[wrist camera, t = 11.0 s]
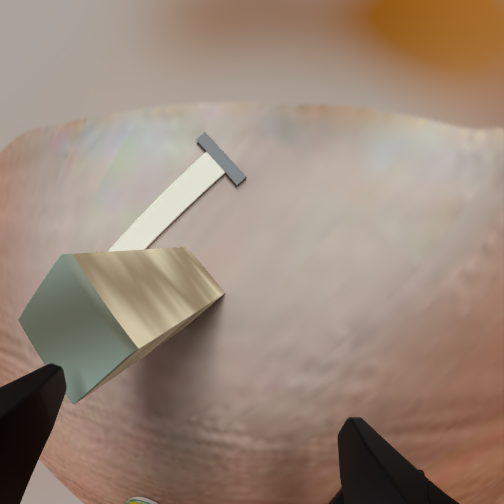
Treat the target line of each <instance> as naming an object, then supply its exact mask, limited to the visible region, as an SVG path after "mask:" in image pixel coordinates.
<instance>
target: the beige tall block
mask: <svg viewBox="0 0 504 504" xmlns="http://www.w3.org/2000/svg"><path fill="white" fill-rule="evenodd" d="M224 294H225V292H224V291H223V290H222V289H221V287H220V286H219V285H218V284H217V283H216V281H215V280H214V279H213V278H212V277H211V275H210V274H209V273H208V272H207V271H206V269H205V268H204V267H203V266H202V265H201V263H200V262H199V261H198V260H197V258H196V257H195V256H194V255H193V254H192V252H191V251H190V250H189V249H188V247H179V248H162V249H145V250H128V251H112V252H96V253H81V254H65V255H61V256H60V257H59V259H58V260H57V262H56V263H55V264H54V266H53V267H52V269H51V270H50V272H49V273H48V274H47V276H46V277H45V279H44V280H43V282H42V283H41V285H40V286H39V288H38V289H37V291H36V292H35V294H34V295H33V297H32V299H31V300H30V302H29V303H28V305H27V307H26V308H25V310H24V311H23V313H22V315H21V316H20V318H19V322H20V324H21V326H22V327H23V329H24V331H25V333H26V334H27V336H28V338H29V339H30V341H31V343H32V345H33V346H34V348H35V349H36V351H37V353H38V354H39V356H40V357H41V359H42V361H43V362H44V364H45V365H48V364H50V363H53V364H56V365H59V366H61V367H62V368H63V370H64V375H65V380H66V385H67V388H66V393H65V394H66V395H67V396H68V398H69V399H70V400H71V402H72V403H73V404H75V403H77V402H78V401H80V400H81V399H83V398H84V397H86V396H87V395H89V394H90V393H92V392H93V391H95V390H96V389H98V388H99V387H100V386H102V385H103V384H105V383H106V382H108V381H109V380H111V379H112V378H114V377H115V376H117V375H118V374H119V373H121V372H122V371H124V370H125V369H127V368H128V367H130V366H131V365H132V364H134V363H135V362H137V361H138V360H140V359H141V358H143V357H144V356H145V355H147V354H148V353H150V352H151V351H153V350H154V349H155V348H157V347H158V346H160V345H161V344H163V343H164V342H165V341H167V340H168V339H170V338H171V337H172V336H174V335H175V334H177V333H178V332H180V331H181V330H182V329H184V328H185V327H186V326H187V325H189V324H190V323H191V322H192V321H193V320H194V319H196V318H197V317H198V316H199V315H200V314H202V313H203V312H204V311H205V310H206V309H207V308H209V307H210V306H211V305H212V304H213V303H214V302H216V301H217V300H218V299H219V298H220V297H221V296H223V295H224Z"/></svg>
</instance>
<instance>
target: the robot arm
mask: <svg viewBox="0 0 504 504" xmlns="http://www.w3.org/2000/svg"><path fill="white" fill-rule="evenodd" d="M66 388H67V385H66V380H65V375H64V370H63V368H62V367H61V366H59V365H56V364H53V363H50V364H48V365H45V366H43V367H41V368H39V369H37V370H35V371H33V372H31V373H29V374H27V375H25V376H23V377H21V378H19V379H17V380H15V381H13V382H10V383H8V384H6V385H4V386H2V387H0V504H20V502H21V500H22V497H23V495H24V492H25V490H26V487H27V485H28V482H29V480H30V477H31V475H32V473H33V471H34V468H35V466H36V464H37V461H38V459H39V457H40V455H41V452H42V450H43V448H44V446H45V444H46V442H47V440H48V437H49V435H50V433H51V431H52V429H53V426H54V423H55V421H56V418H57V415H58V412H59V409H60V406H61V404H62V401H63V398H64V395H65V393H66ZM338 451H339V467H340V479H341V485H342V489H341V491H340V492H339V493H338V494H337V496H336V497H335V498H334V499H333V500H332V502H331V503H330V504H459V503H458V502H456V501H455V500H454V499H452V498H451V497H449V496H448V495H447V494H445V493H444V492H443V491H442V490H441V489H439V488H438V487H437V486H436V485H435V484H433V483H432V482H431V481H429V479H428V478H426V477H425V474H424V472H423V471H422V470H417V469H416V468H415V467H414V466H413V465H412V464H411V463H410V462H409V461H407V460H406V459H405V458H404V457H403V456H402V455H401V454H400V453H399V452H398V451H396V450H395V449H394V448H393V447H392V446H391V445H390V444H389V443H388V442H387V441H386V440H385V439H383V438H382V437H381V436H380V435H379V434H378V433H377V432H376V431H375V430H374V429H373V428H372V427H371V426H370V425H369V424H367V423H366V422H365V421H364V420H363V419H362V418H360V417H349V418H348V419H347V420H346V422H345V423H344V425H343V427H342V428H341V430H340V432H339V434H338Z"/></svg>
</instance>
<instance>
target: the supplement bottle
mask: <svg viewBox="0 0 504 504" xmlns="http://www.w3.org/2000/svg"><path fill="white" fill-rule="evenodd" d="M126 504H158V503H156V502H154V501H152V500H150V499H147V498H144V497H133V498H131V499H129V500H128V501H127V502H126Z"/></svg>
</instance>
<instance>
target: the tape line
mask: <svg viewBox="0 0 504 504" xmlns="http://www.w3.org/2000/svg"><path fill="white" fill-rule="evenodd" d="M197 141H198V142H199V144H200V145H201V146H202V147H203V148H204V149H205V150H206V151H207V152H206V153H204V154H203V155H202V156H201V157H200V158H199V159H198V160H197V161H196V162H195V163H194V164H192V165H191V166H190V167H189V168H188V169H187V170H186V171H185V172H184V173H183V174H182V175H181V176H180V177H179V178H178V179H177V180H176V181H175V182H174V183H173V184H172V185H171V186H170V187H168V188H167V189H166V190H165V191H164V192H163V193H162V194H161V195H160V196H159V197H158V198H157V199H156V200H155V201H154V202H153V203H152V205H151V206H150V207H149V208H148V209H147V210H146V211H145V212H144V213H143V214H142V215H141V216H140V217H139V218H138V219H137V220H136V221H135V222H134V223H133V224H132V225H131V226H130V228H129V229H128V230H127V231H126V232H125V233H124V234H123V235H122V236H121V237H120V238H119V239H118V241H117V242H116V243H115V244H114V245H113V246H112V247H111V248H110V249H109V251H108V252H112V251H128V250H145V249H146V248H147V247H148V246H149V245H150V244H151V243H152V242H153V241H154V240H155V239H156V238H157V237H158V236H159V235H160V234H161V233H162V232H163V231H164V230H165V229H166V228H167V227H168V226H169V225H170V224H171V223H172V222H174V221H175V220H176V219H177V218H178V217H179V216H180V215H181V214H182V213H183V212H184V211H185V210H186V209H187V208H188V207H189V206H190V205H191V204H192V203H193V202H194V201H196V200H197V199H198V198H199V197H200V196H201V195H202V194H203V193H204V192H205V191H206V190H207V189H208V188H210V187H211V186H212V185H213V184H214V183H215V182H216V181H217V180H218V179H219V178H221V177H222V176H223V175H224V174H225V173H226V174H227V175H228V176H229V177H230V178H231V179H232V180H233V181H234V183H235V184H236V185H237V186H238V185H239V184H240V183H241V182H242V181H243V180H244V179H245V178H247V177H246V176H245V175H244V174H243V173H242V172H241V171H240V170H239V168H238V167H237V166H236V165H235V164H234V163H233V162H232V161H231V160H230V159H229V157H228V156H227V155H226V154H225V153H224V152H223V151H222V150H221V149H220V148H219V147H218V146H217V144H216V143H215V142H214V141H213V140H212V139H211V138H210V137H209V136H208V135H207V134H206V133H205V132H204V133H203V134H202V135H201V136H200V137H199V138H198V139H197Z"/></svg>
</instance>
